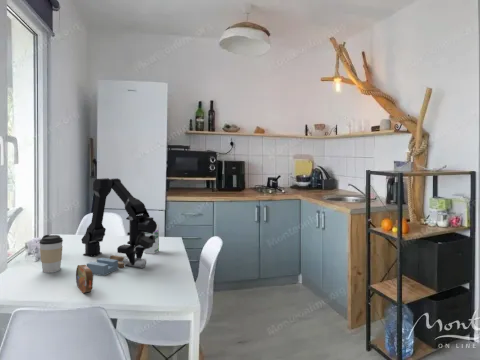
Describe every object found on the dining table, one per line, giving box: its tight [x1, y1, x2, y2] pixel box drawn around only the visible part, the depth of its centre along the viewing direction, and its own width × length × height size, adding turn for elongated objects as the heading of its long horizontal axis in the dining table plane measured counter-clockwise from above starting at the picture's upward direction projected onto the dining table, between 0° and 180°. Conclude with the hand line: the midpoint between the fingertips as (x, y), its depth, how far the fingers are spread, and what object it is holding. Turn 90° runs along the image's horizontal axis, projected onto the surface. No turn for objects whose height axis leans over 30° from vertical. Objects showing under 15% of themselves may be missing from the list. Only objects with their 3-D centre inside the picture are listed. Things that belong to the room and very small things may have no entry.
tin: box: [75, 264, 94, 294], centre depth 129 cm, size 15×3×8 cm, turn 38°
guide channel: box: [109, 254, 125, 269], centre depth 160 cm, size 13×9×2 cm
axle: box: [122, 255, 147, 269], centre depth 156 cm, size 10×4×4 cm, turn 70°
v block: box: [86, 257, 119, 276], centre depth 149 cm, size 9×9×4 cm
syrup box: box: [143, 223, 160, 255], centre depth 179 cm, size 6×6×14 cm
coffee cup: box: [38, 234, 64, 273], centre depth 148 cm, size 9×9×15 cm
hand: (135, 263), depth 156 cm, fingers closed on axle, 4 cm apart
